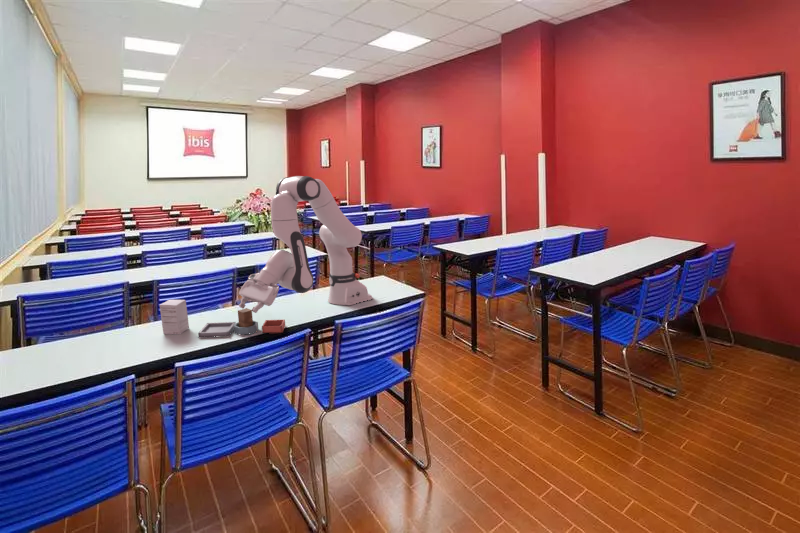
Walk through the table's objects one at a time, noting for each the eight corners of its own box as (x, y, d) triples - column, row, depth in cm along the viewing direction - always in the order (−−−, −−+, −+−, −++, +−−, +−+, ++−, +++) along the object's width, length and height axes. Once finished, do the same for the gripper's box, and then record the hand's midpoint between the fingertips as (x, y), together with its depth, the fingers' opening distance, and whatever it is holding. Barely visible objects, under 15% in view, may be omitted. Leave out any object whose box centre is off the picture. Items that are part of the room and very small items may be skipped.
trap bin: (285, 326, 194) (284, 319, 193) (282, 333, 186) (281, 326, 186) (266, 326, 193) (265, 320, 193) (262, 333, 186) (261, 326, 185)
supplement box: (173, 327, 193) (169, 299, 190) (189, 328, 192) (186, 299, 189) (162, 334, 186) (158, 304, 183) (179, 334, 185) (176, 305, 182)
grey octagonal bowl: (249, 325, 195) (249, 319, 194) (261, 330, 189) (261, 323, 189) (231, 331, 188) (230, 324, 188) (242, 336, 183) (242, 329, 182)
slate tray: (236, 326, 194) (235, 322, 193) (228, 336, 183) (228, 332, 182) (207, 327, 193) (207, 322, 192) (198, 337, 182) (198, 333, 181)
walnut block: (248, 328, 191) (246, 308, 189) (253, 330, 189) (251, 310, 187) (239, 331, 188) (237, 310, 186) (244, 333, 186) (243, 312, 184)
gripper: (285, 290, 188) (266, 318, 183) (257, 282, 201) (239, 308, 196) (275, 281, 184) (256, 310, 179) (247, 274, 197) (228, 301, 192)
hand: (247, 309), depth 187 cm, fingers open, 8 cm apart
